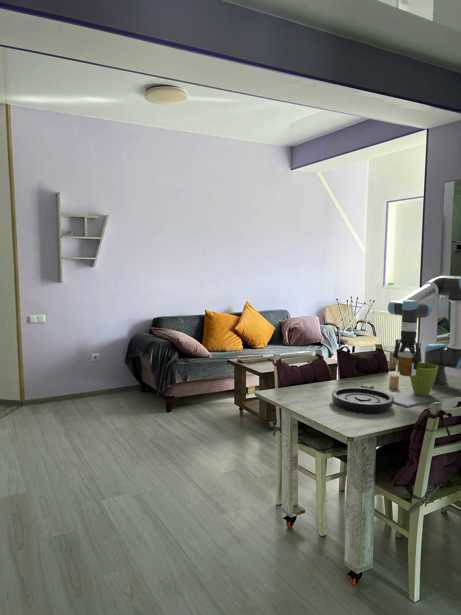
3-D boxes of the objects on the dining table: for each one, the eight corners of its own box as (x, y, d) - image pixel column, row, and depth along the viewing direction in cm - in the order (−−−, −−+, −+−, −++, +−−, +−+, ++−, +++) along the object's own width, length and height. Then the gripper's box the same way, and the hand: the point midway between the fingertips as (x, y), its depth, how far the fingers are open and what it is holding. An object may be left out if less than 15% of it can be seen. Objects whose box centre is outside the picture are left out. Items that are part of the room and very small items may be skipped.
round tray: (368, 395, 258) (320, 400, 248) (368, 384, 258) (320, 388, 247) (406, 412, 231) (354, 418, 220) (407, 400, 230) (355, 406, 219)
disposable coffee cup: (417, 374, 249) (418, 351, 247) (413, 378, 241) (415, 354, 239) (398, 371, 254) (400, 349, 252) (394, 375, 246) (395, 352, 244)
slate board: (402, 394, 260) (402, 392, 260) (428, 402, 247) (428, 400, 247) (380, 399, 250) (380, 397, 250) (407, 407, 237) (407, 405, 237)
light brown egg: (392, 386, 277) (393, 374, 276) (400, 388, 273) (400, 376, 272) (387, 387, 274) (387, 375, 273) (394, 389, 270) (395, 377, 269)
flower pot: (439, 399, 253) (441, 369, 251) (409, 396, 256) (411, 367, 254) (432, 391, 268) (434, 363, 266) (405, 389, 270) (406, 361, 269)
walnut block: (365, 392, 263) (365, 383, 262) (373, 394, 259) (374, 385, 259) (360, 394, 259) (360, 385, 259) (368, 396, 256) (369, 387, 255)
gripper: (387, 327, 251) (384, 370, 254) (422, 333, 234) (419, 378, 236) (396, 327, 255) (393, 368, 258) (431, 332, 238) (428, 377, 241)
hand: (406, 373), depth 247 cm, fingers closed on disposable coffee cup, 8 cm apart
